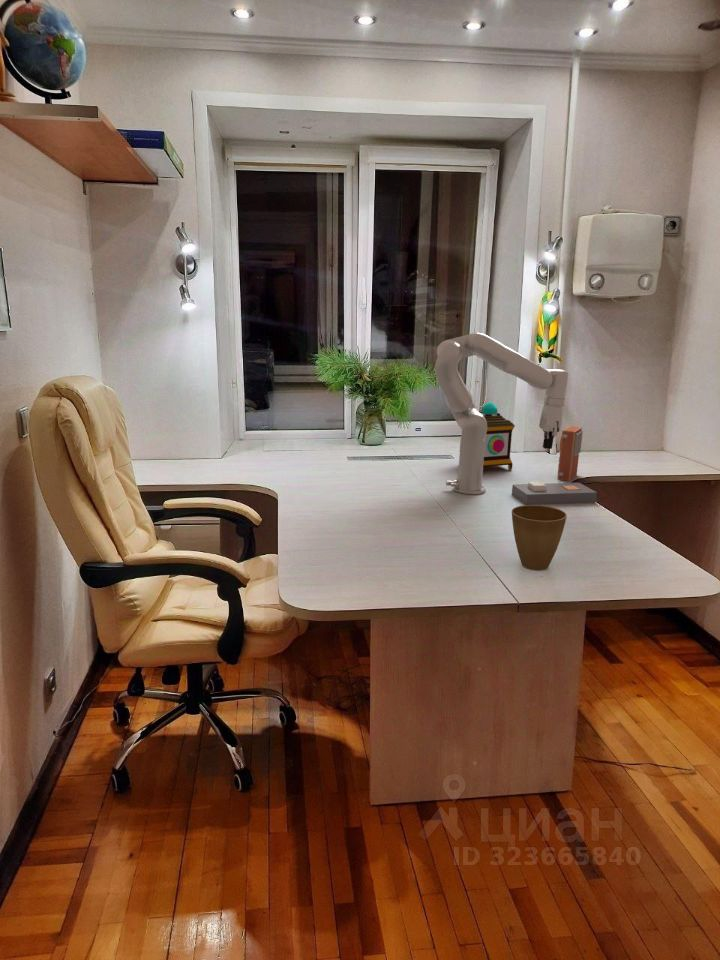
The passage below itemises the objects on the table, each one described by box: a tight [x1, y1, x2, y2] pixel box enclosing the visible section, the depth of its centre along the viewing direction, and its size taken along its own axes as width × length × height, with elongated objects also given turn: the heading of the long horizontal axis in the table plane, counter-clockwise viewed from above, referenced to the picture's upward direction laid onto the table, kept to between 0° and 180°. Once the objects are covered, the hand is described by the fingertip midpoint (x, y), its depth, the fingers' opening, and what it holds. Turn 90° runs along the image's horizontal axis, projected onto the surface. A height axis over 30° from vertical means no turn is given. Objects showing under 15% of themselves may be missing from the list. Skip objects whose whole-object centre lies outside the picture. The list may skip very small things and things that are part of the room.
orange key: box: [562, 486, 580, 490], centre depth 254 cm, size 5×5×3 cm
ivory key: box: [527, 481, 546, 491], centre depth 251 cm, size 5×5×3 cm
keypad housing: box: [511, 482, 598, 505], centre depth 253 cm, size 28×14×4 cm, turn 100°
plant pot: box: [511, 504, 568, 571], centre depth 185 cm, size 15×15×16 cm
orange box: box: [556, 425, 584, 482], centre depth 282 cm, size 21×7×15 cm
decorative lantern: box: [478, 401, 516, 471], centre depth 295 cm, size 20×20×30 cm
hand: (547, 448), depth 258 cm, fingers closed
